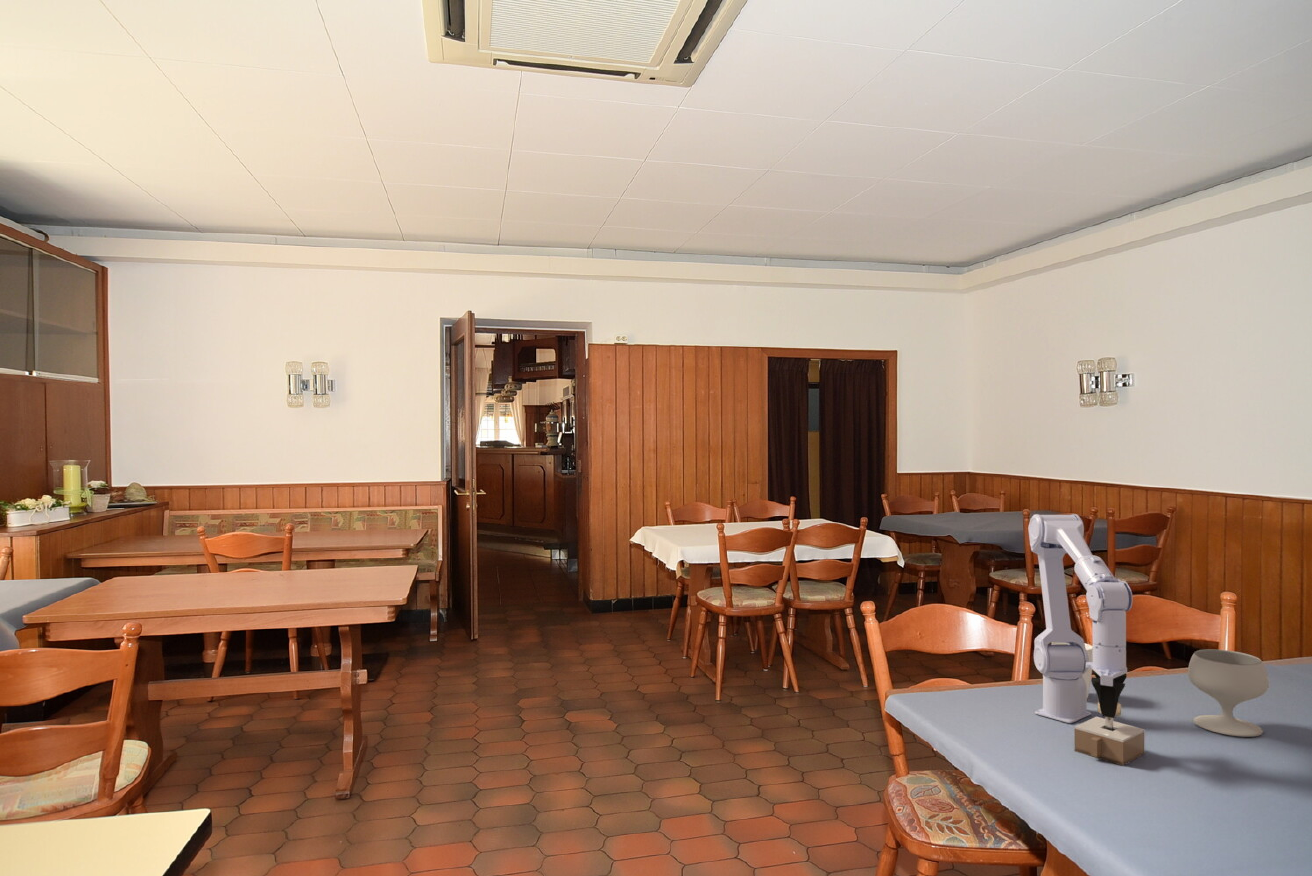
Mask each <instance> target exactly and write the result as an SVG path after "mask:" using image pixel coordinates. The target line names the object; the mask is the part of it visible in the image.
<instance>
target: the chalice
mask: <svg viewBox="0 0 1312 876" xmlns="http://www.w3.org/2000/svg"><path fill="white" fill-rule="evenodd" d="M1187 677H1188V679H1189V680H1190V683H1191V684H1192V685H1193V686H1194V687H1196V688H1197V689H1198V690H1200V691H1201V692H1203V693H1205V694H1206V695H1209V697H1211V698H1213V699H1214V700H1215V701H1216V702H1217V703H1218V704H1219V705H1220V707H1221V710H1222V711H1221V714H1220V715H1219V714H1218V715H1217V714H1204V715H1197V716H1196V717H1194V718H1193V719H1192V721H1193V724H1195V725H1196V726H1197V727H1200V728H1201V729H1204V730H1206V731H1210V732H1214V733H1217V734H1222V735H1227V736H1233V737H1243V738H1246V737H1250V738H1251V737H1258V736H1261V735H1263V734H1264V730H1263V729H1262V728H1261V727H1260V726H1258V725H1257V724H1255V723H1253V722H1252V721H1251V722H1250V721H1248V720H1244V719H1241V718H1237V717H1235V716H1234V712H1233V711H1234V709H1235V708H1236V706H1237V705H1239V704H1241V703H1244V702H1247V701H1250V700H1254V699H1256V698H1259V697H1262V696H1263V695H1264V694H1265V693H1266V692H1267V691H1268V689H1269V687H1270V681H1269V676H1268V671H1267V668H1266V666H1265V664H1264V663H1263V661H1262V660H1261V659H1260V658H1259V657H1257V656H1254V655H1251V654H1248V653H1244V652H1240V651H1235V650H1226V649H1217V648H1216V649H1214V648H1213V649H1210V648H1208V649H1207V648H1205V649H1199V650H1196V651H1194V652H1193V654H1192V656H1191V658H1190V660H1189V663H1188V668H1187Z"/></svg>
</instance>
